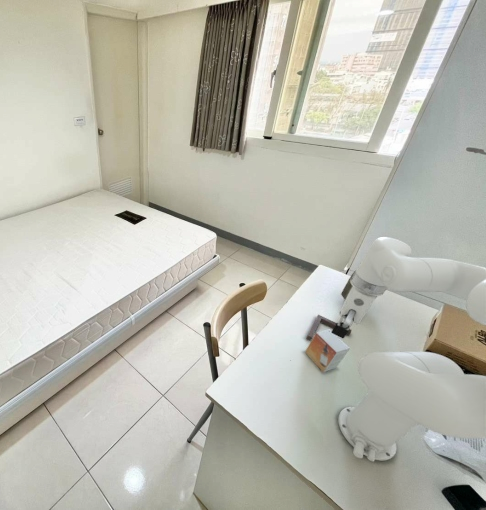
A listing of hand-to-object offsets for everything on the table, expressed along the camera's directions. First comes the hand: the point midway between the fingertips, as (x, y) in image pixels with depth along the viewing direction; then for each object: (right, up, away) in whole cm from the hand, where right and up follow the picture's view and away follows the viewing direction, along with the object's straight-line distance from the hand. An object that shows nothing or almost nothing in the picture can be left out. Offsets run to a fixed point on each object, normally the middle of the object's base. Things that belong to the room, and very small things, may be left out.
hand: (341, 325), depth 81 cm
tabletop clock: (+27, 0, +31) cm, 41 cm away
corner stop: (+8, -9, +17) cm, 21 cm away
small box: (0, -14, +9) cm, 17 cm away
